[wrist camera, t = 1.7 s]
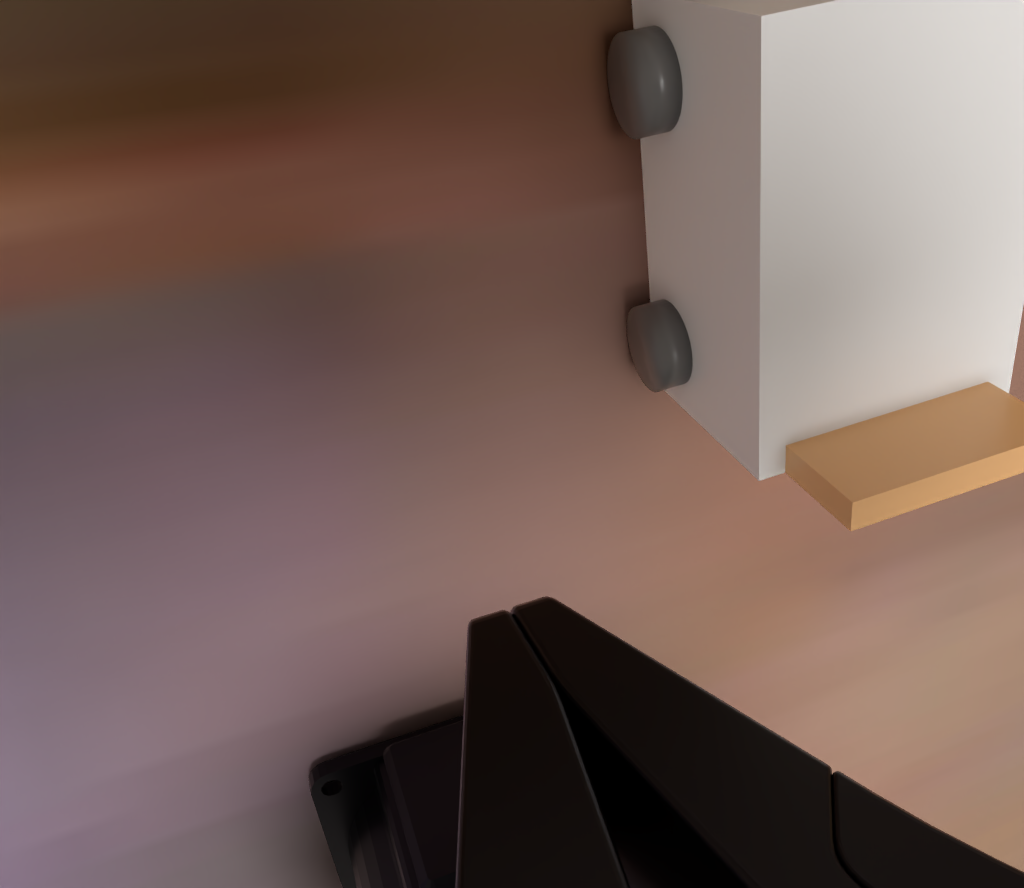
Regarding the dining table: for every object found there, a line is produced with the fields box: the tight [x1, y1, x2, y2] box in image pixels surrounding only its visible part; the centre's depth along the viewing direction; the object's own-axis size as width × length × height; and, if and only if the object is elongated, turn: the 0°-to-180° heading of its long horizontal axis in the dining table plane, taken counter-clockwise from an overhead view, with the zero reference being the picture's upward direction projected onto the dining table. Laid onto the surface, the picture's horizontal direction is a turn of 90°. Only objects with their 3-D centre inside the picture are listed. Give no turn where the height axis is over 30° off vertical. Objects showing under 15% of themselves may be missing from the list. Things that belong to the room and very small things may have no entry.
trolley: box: [607, 0, 1024, 531], centre depth 17 cm, size 8×7×6 cm
